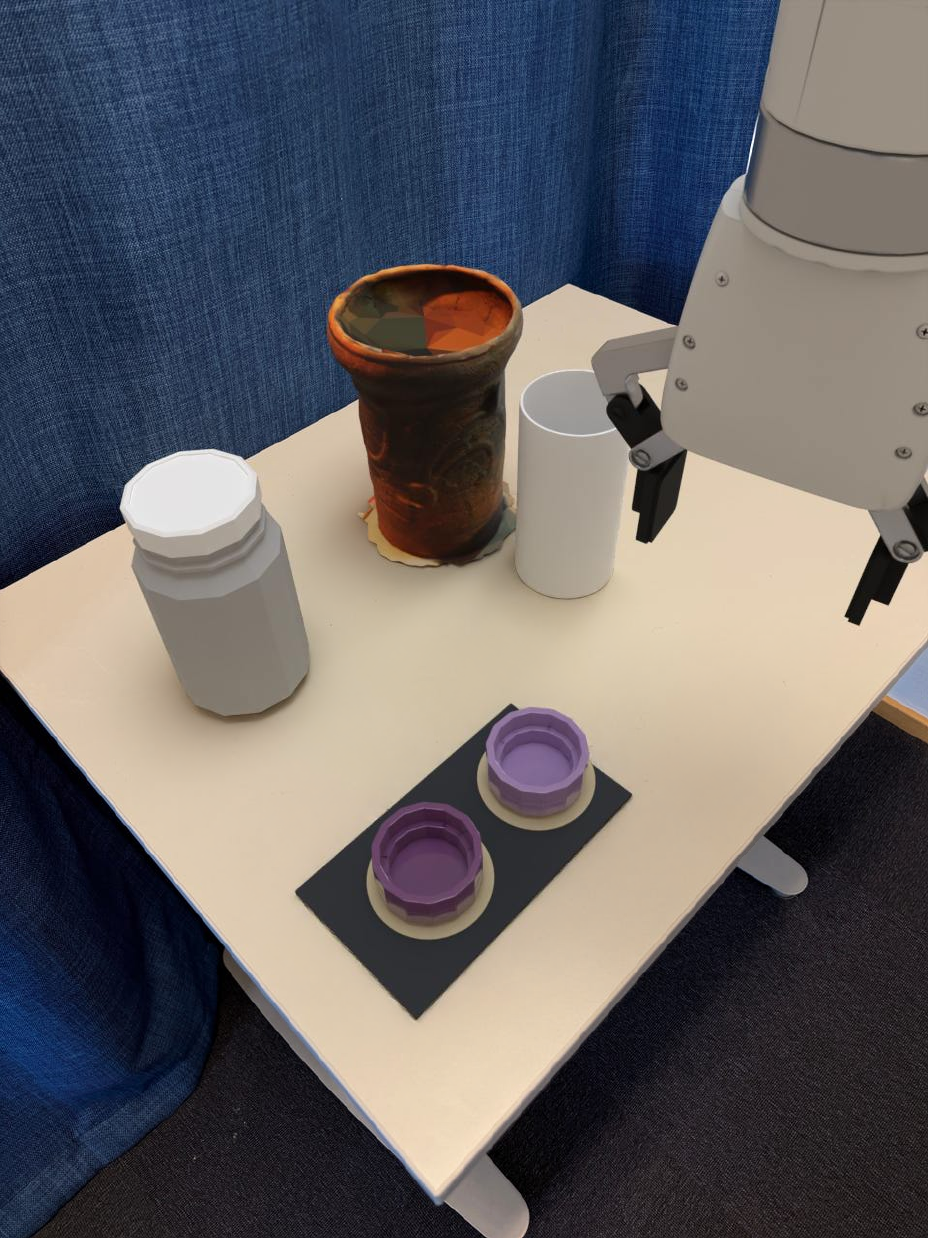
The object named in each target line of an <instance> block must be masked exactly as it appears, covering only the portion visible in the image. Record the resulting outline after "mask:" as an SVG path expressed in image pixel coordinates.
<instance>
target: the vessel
mask: <svg viewBox="0 0 928 1238" xmlns="http://www.w3.org/2000/svg"><path fill="white" fill-rule="evenodd" d="M523 312H524V311H523V308H522V303H521V301H520V300H519V298H518V297H517V295H516V293H515V292H514V291H513V290H512V289H511V288H510V286H509V285H508V284H507V283H506V282H505V281H503V280H502V279H501V278H499V277H498V275H495V274H491V273H489V272H486V271H485V270H481V269H475V268H469V267H463V266H459V265H454V264H430V263H422V264H410V265H400V266H394V267H390V268H385V269H384V268H383V269H381V270H380V271H377V272H376V273H373V274H366V275H365V276H363V277H360V278H359V279H358V280H356V281H355V282H353V283H352V284H351V285H350V286H349V287H348V288H346V290H344V291H343V292H341V293H339V294H338V295H337V296H336V297H335V298H334V300H333V302H332V304H331V306H330V309H329V310H328V315H327V326H326V336H327V341H328V344H329V348H330V350H331V353H332V355H333V358H334V359H335V360H336V361H337V363H338V364H339V366H340V367H342V369H344V370H345V372H346V373H347V374H349V375H350V379H351V381H352V384H353V387H354V388H355V390H356V391H357V394H358V420H359V423H360V430H361V435H362V440H363V444H364V447H365V451H366V457H367V463H368V464H367V465H368V471H369V477H370V481H371V483H372V487H373V488H372V489H373V495H372V496H371V497H370V498H369V499H368V501H367V504H369V505H370V506H369V508H368V509H367V510H366V511H365V512H361V511H358V513H357V516H359V517H360V518H361V519H362V521H364V522H365V523H366V524H367V540H368V541H369V542H371V543H374V544H375V545H376V550H377V551H378V552H379V555H381V556H383V557H384V558H387V560H389V561H390V562H401V563H403V564H406V565H407V566H417V567H425V566H434V567H437V566H439V565H442V564H444V563H445V564H447V565H449V564H450V562H453V563H455V564H458V565H461V566H462V565H464V564H467V563H468V562H471V561H474V560H479V559H483V558H484V555H485V554H487V555H488V554H491V553H493V552H494V551H495V550H502V546H503V542H504V539H505V538H506V537H508V536H509V534H510V533H511V532H513V531H514V530H515V529H516V509H517V508H515V507H513V506H512V505H513V503H514V502H515V501H516V498H515V497H514V496H512V495H511V494H510V487H509V482H506V481H504V467H505V458H506V437H507V408H506V368H507V365H508V363H509V360H510V359H511V357H512V356H513V354H514V352H515V351H516V349H517V346H518V344H519V342H520V339H521V337H522V335H523V329H524V313H523Z"/></svg>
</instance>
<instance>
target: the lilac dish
mask: <svg viewBox="0 0 928 1238" xmlns="http://www.w3.org/2000/svg"><path fill="white" fill-rule="evenodd" d="M589 759H590V749H589V744H588V739H587V735H586V734H585V732H584V731H583V729H581V728H580V726H579V725H578V724H577V723H576V722H575V720H574V719H573V718H572V717H570V716H567V715H566V714H564V713H562V712H560V711H558V710H555V709H553V708H547V707H537V706H528V707H524V708H520V709H519V710H517V711H513V712H510V713H508V714H507V715H506V716H505V717H504V718H502V719H501V720H500V721H499V722H497V723H496V724H495V725H494V726H493V728H492V730H491V733H490V735H489V737H488V740H487V742H486V770H487V779H488V785H489V787H490V789H491V790H492V791H493V793H494V794H495V796H496V797H497V799H498V800H499V801H500V802H501V803H502V804H503V805H505V806H507V807H509V808H511V809H512V810H514V811H516V812H518V813H520V814H526V815H535V816H546V815H549V814H552V813H555V812H559V811H562V810H565V809H566V808H567V807H568V806H569V805H571V804H572V803H573V802H574V801H575V800H576V799H577V798H578V797H579V796H580V795H581V792H582V789H583V786H584V783H585V780H586V775H587V768H588V761H589Z"/></svg>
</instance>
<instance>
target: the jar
mask: <svg viewBox="0 0 928 1238" xmlns="http://www.w3.org/2000/svg"><path fill="white" fill-rule="evenodd" d="M122 492H123V493H122V496H121V501H120V505H119V510H120V512H121V515H122V517H123V520H124V522H125V524H126V527H127V529H128V531H129V532H130V533H131V535H132V537H133V538H132V543H133V546H134V551H133V556H132V559H131V560H132V561H131V564H130V567H131V569H132V572H133V574H134V577H135V579H136V581H137V584H138V587H139V588H140V590H141V593H142V595H143V597H144V600H145V602H146V604H147V608H148V609H149V611H150V614H151V616H152V619H153V621H154V623H155V626H156V629H157V631H158V633H159V635H160V638H161V640H162V643H163V645H164V648H165V650H166V652H167V655H168V657H169V660H170V662H171V665H172V667H173V669H174V671H175V674H176V676H177V679H178V680H179V683H180V684H181V686H182V688H183V689H184V690H185V692H186V694H187V695H188V697H189V698H190V700H191V702H192V703H193V705H195V706H196V707H197V706H198V707H200V708H202V709H205V710H208V711H211V712H212V713H215V714H218V715H220V716H223V717H224V716H225V717H226V716H228V717H229V716H238V715H240V716H241V715H249V714H260V713H262V712H264V711H266V710H267V709H269V708H271V707H273V706H275V705H277V704H278V703H280V702H282V701H284V700H286V699H287V698H289V697H290V696H291V695H292V694H293V693H294V691H295V690H296V688H297V687H298V686H299V684H300V683H301V682H302V680H303V679H304V677H305V676H306V675H307V673H308V672H309V666H310V665H309V663H310V662H309V661H310V660H309V659H310V658H309V656H310V643H309V639H308V635H307V631H306V626H305V622H304V617H303V614H302V610H301V605H300V602H299V601H300V600H299V597H298V592H297V588H296V585H295V584H296V583H295V581H294V576H293V572H292V568H291V563H290V559H289V554H288V550H287V546H286V543H285V538H284V537H285V536H284V534H283V529H282V526H281V525H280V524H279V522H278V521H277V520H276V519H275V518H274V517H273V516H272V514H271V513H270V512H269V511H268V510H267V507H266V506H265V505H264V503H263V502H262V499H263V494H262V493H263V492H262V488H261V486H260V481H259V476H258V474H257V472H256V471H255V470H254V469H253V468H252V467H251V465H249V463H247V461H246V460H245V459H244V458H243V457H242V456H239V455H237V454H233V453H229V452H225V451H222V450H219V449H215V448H207V449H205V448H204V449H194V450H183V451H177V452H175V453H172V454H169V455H167V456H165V457H162V458H160V459H157V460H155V461H153V462H150V463H147V464H146V465H145V466H144V467H143V468H141V470H139V471H138V472H137V473H136V474H135V475H134V476H133V477H132V478H131V479H130V480H129V481H128V482H127V483H126V484H125V485H124V488H123V491H122Z"/></svg>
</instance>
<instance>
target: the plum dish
mask: <svg viewBox="0 0 928 1238" xmlns="http://www.w3.org/2000/svg"><path fill="white" fill-rule="evenodd" d="M372 869H373V873H374V877H375V882H376V887H377V890H378V892H379V894H380V895H381V897H382V899H383V901H384V903H385V904H386V906H387V908H388V909H389V910H391V911H392V912H394V913H395V914H397V915H398V916H400V917H401V918H403V919H404V920H406V921H408V922H414V923H422V924H430V925H432V924H433V925H434V924H437V923H440V922H444V921H447V920H450V919H453V918H456V917H457V916H459V915H460V914H461V913H462V912H463V911H464V910H465V909H466V908H467V907H468V906H469V905H471V904H472V903H473V902H474V900H475V899H476V896H477V894H478V891H479V889H480V886H481V883H482V881H483V854H482V844H481V836H480V833H479V832H478V830H477V829H476V827H475V826H474V824H473V823H472V822H471V820H470V819H469V817H468V816H467V815H465V814H464V813H462V812H460V811H458V810H457V809H455V808H453V807H451V806H450V805H447V804H441V803H432V802H421V803H417V804H414V805H410V806H407V807H404V808H401V809H399V810H398V811H397V812H395V813H394V814H393V815H392V816H391V817H389V818H388V819H387V820H386V821H384V822H383V823H382V824H381V826H380V829H379V831H378V833H377V835H376V837H375V839H374V841H373V843H372Z"/></svg>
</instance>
